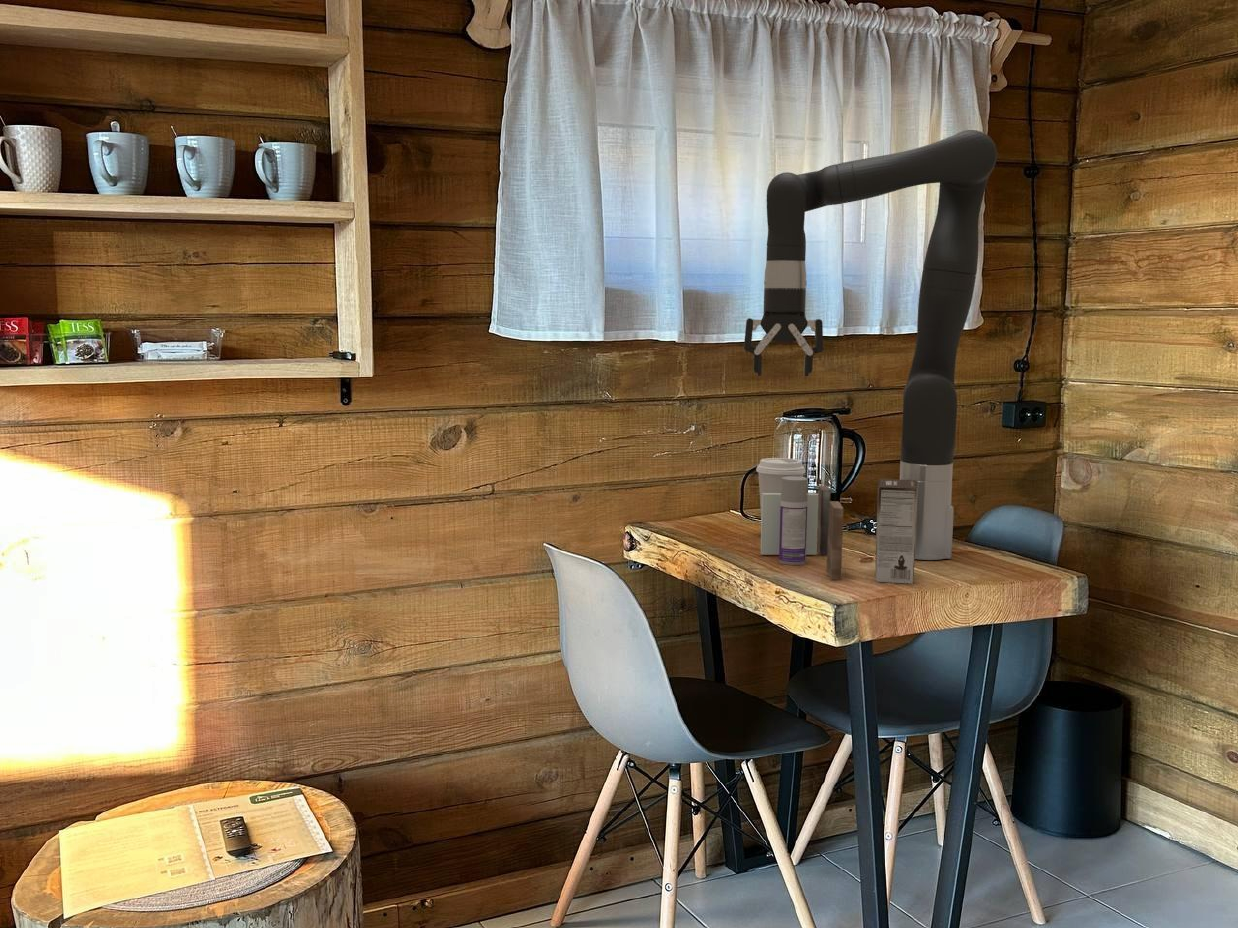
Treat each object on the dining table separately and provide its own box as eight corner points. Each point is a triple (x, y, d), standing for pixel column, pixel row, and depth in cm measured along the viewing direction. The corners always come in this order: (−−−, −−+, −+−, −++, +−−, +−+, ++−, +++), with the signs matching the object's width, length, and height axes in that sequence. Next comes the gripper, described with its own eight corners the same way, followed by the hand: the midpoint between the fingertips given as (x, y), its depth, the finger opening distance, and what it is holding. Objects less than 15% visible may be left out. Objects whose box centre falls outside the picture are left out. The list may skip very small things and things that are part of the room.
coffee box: (874, 570, 206) (878, 477, 204) (912, 572, 204) (916, 479, 202) (874, 582, 197) (878, 486, 195) (914, 584, 196) (919, 487, 193)
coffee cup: (803, 542, 229) (805, 464, 227) (753, 540, 230) (755, 463, 228) (803, 532, 238) (805, 458, 236) (755, 530, 240) (757, 456, 238)
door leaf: (815, 553, 218) (817, 493, 216) (816, 554, 216) (818, 494, 215) (760, 553, 217) (762, 493, 216) (761, 554, 216) (763, 494, 214)
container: (784, 558, 214) (786, 475, 212) (809, 561, 212) (811, 477, 210) (774, 563, 210) (777, 478, 208) (800, 566, 208) (803, 480, 206)
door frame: (825, 549, 222) (827, 486, 220) (840, 579, 198) (843, 508, 197) (816, 549, 222) (818, 485, 220) (831, 579, 198) (833, 508, 197)
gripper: (822, 287, 220) (819, 375, 222) (744, 286, 221) (742, 374, 223) (826, 286, 213) (823, 377, 215) (746, 286, 214) (744, 376, 216)
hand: (782, 375), depth 219 cm, fingers open, 8 cm apart
